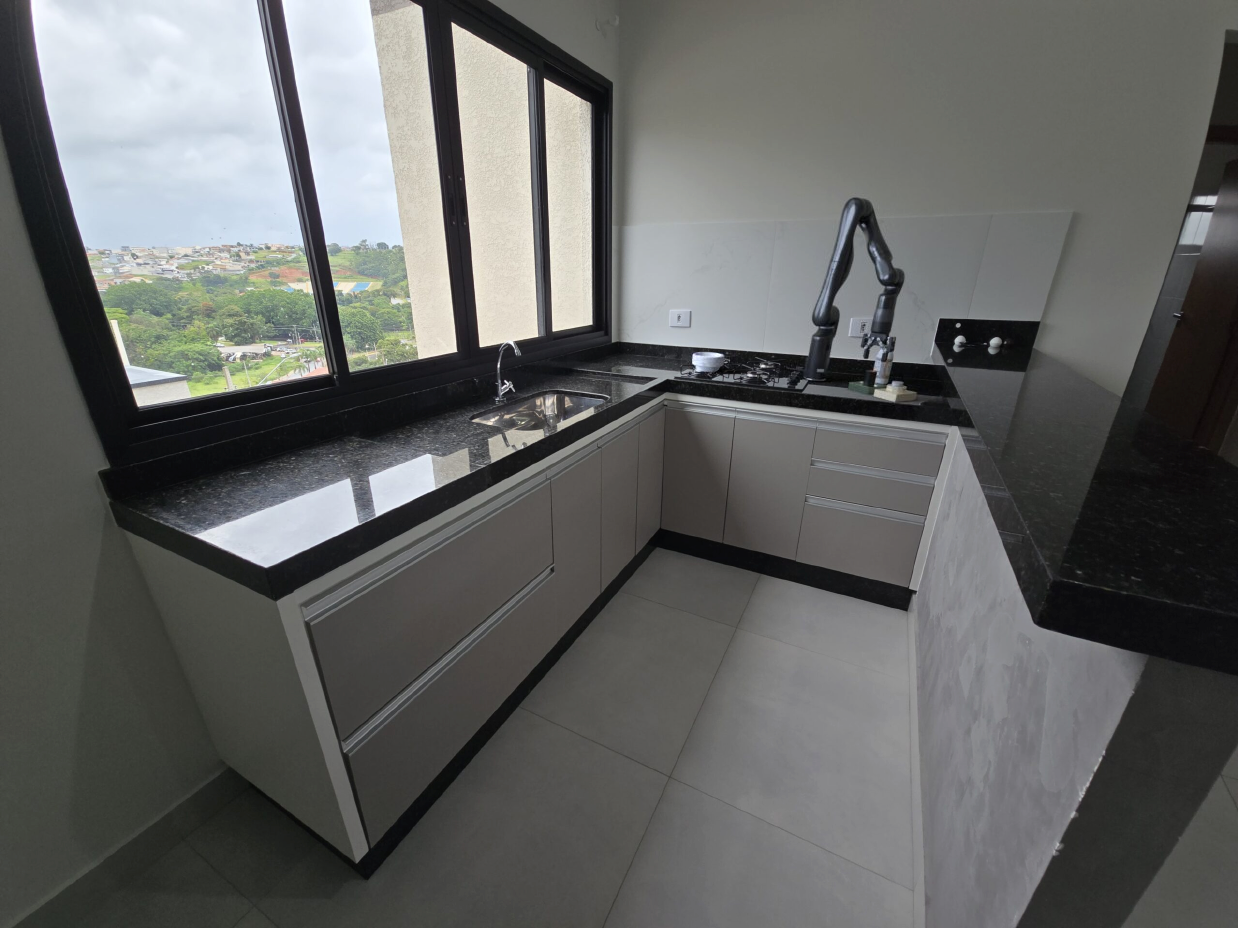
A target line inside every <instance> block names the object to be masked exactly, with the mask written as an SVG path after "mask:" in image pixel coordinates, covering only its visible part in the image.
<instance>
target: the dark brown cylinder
mask: <svg viewBox="0 0 1238 928" xmlns="http://www.w3.org/2000/svg"><path fill="white" fill-rule="evenodd" d="M873 370H874V369H873ZM873 370H872V369H867V370H865V373H864V378H863V381H864V382H863V384H866V385H875V380H876V376H877V371H873Z"/></svg>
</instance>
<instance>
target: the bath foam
mask: <svg viewBox="0 0 1238 928" xmlns="http://www.w3.org/2000/svg"><path fill="white" fill-rule="evenodd" d="M887 343H889V341H887ZM882 353H883V350H882V348H880V350H879V351H878V352H877V355H876V357H875V362H874V365H873V371H877V376H876V380H875V383H879V384H883V385H888V384H889V383H888V382H889V378H890V374H891V371H892V366H893V362H894V357H895V356H894V351H893V352H889V354H888V358H887V361H886V362H881V358H882Z"/></svg>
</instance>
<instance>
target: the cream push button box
mask: <svg viewBox="0 0 1238 928" xmlns="http://www.w3.org/2000/svg"><path fill="white" fill-rule="evenodd" d="M886 385H887V388H882V389H875V392H874V394H873V397H875V398H879V399H882V400H886V401H888V402H893V403H899V402H909V401H915V400H916V398H917V395H918V392H916V391H911V390H907V386H905V385H903V387H894V386H891V385H892V383H887V384H886Z"/></svg>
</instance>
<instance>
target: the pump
mask: <svg viewBox="0 0 1238 928" xmlns="http://www.w3.org/2000/svg"><path fill="white" fill-rule="evenodd" d="M891 384H892V385H891V386H894V387H903V386H904V382H903V381H898V380H892V382H891Z"/></svg>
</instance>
